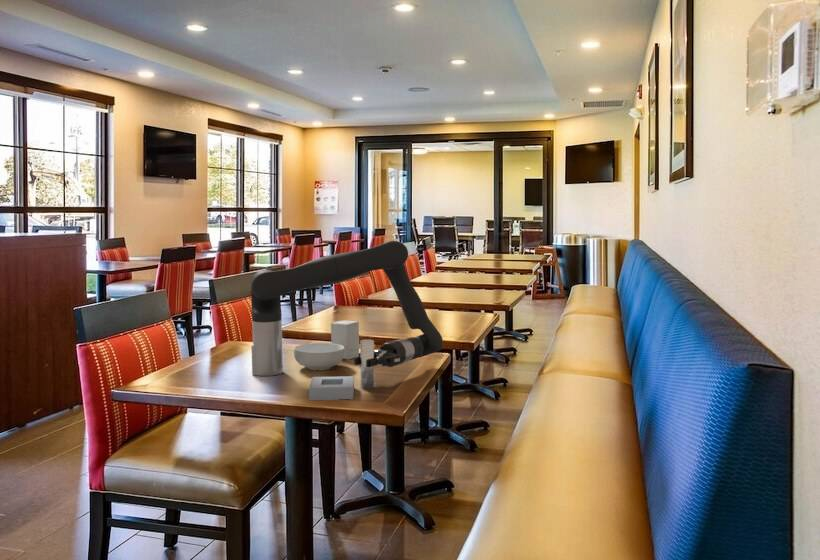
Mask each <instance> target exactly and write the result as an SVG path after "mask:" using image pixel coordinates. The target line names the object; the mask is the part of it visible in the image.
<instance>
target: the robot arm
mask: <svg viewBox="0 0 820 560" xmlns="http://www.w3.org/2000/svg"><path fill="white" fill-rule="evenodd" d="M408 258H409V250H408V248H407V246H406V245H405V244H404V243H403V242H401V241H397V240H389V241H387V242H383V243H381V244H378V245H376V246H372V247H370V248H366V249H360V250H353V251H345V252H340V253H335V254H330V255H327V256H321V257H318V258H315V259H312V260H310V261H307V262H305V263H303V264H300V265H298V266H294V267H291V268H286V269H279V270H272V269H271V270H270V269H260V270H258V271H256V273H254V274H253V276H252V277H251V280H250V295H251V296H250V297H251V298H250V300H251V301H250V302H251V303H250V304H251V325H252V327H251V328H252V345H251V373H252V375H253V376H260V377H267V376H268V377H269V376H276V375H281V374H282V373H283V372H284V371H283V370H284V365H283V362H284V361H283V360H284V359H283V324H282V323H283V321H282V318H283V317H282V314H283V313H282V302H281V301H282V299H281V298H282V297H281V296H284V295H287V294H289V293H293V292H296V291H297V292H298V291H301V290H307V289H315V288H320V287H325V286H329V285H334V284H338V283H342V282H345V281H349V280H351V279H354V278H356V277H359V276H361V275H363V274H366V273H369V272H373V271H378V270H383V272H384V274H385V275H386V277H387V279H388V280H389V282H390V284H391V286H392V288H393V290H394V292H395V294H396V297H397V299H398V302H399V305H400V307H401V310H402V312H403V315H404V317H405V320H406V322H407V325H408V326H409V328H410V329H411V330H419V331H421V333H422V334H420V335H416V336H415V337H414V336H413V337H406V338H401V339H400V338H399V339H397V340H396V339H395V340H392V341H387V342H385V343H383V344H382V345H381V346H380V348H379V349H374V358H371V359H368V360H366V367H372V366H374V367H376V366H377V367H380V366H381V367H387V368H392V367H397V366H399V365H403V364H405V363H407V362H409V361H413V360H416V359H418V358H422V357H425V356H429V355H432V354H435V353H438V352H440V351H441V350H442V349H443V346H444V340H443V337H442V335H441V333H440V332H439V330H438V329H437V328H436V326H435V325H434V323H433V322H432V321H431V319H430V318H429V316H428V313H427V310H426V309H425V306H424V304H423V302H422V300H421V298H420V296H419V293H418V292H417V291H416V289H415V287H414V286H413V284H412V282H411V279H410V278H409V276H408V273H407V269H406V266H405V264H406V263H407V260H408ZM353 360H354V361H353V364H354V366H359V365H360V366H361V359H360V352H359V356H358V357H354V358H353Z"/></svg>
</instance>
